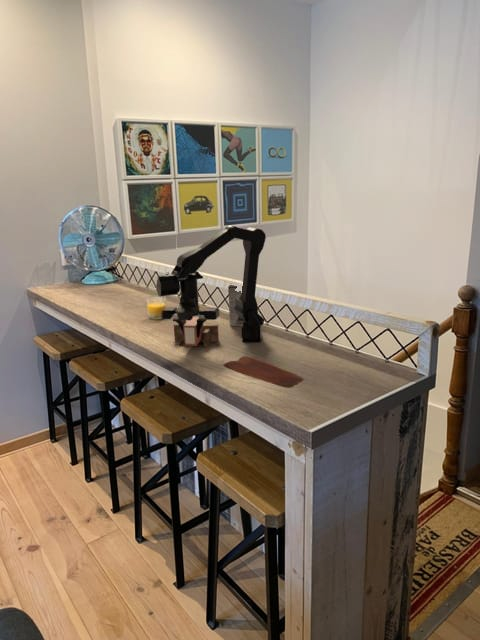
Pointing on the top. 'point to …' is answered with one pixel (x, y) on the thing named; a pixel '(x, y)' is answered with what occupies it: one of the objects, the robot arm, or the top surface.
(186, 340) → the block
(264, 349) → the top surface
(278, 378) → the wooden tablet
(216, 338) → the wooden display stand
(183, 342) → the bookend
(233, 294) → the coffee box
